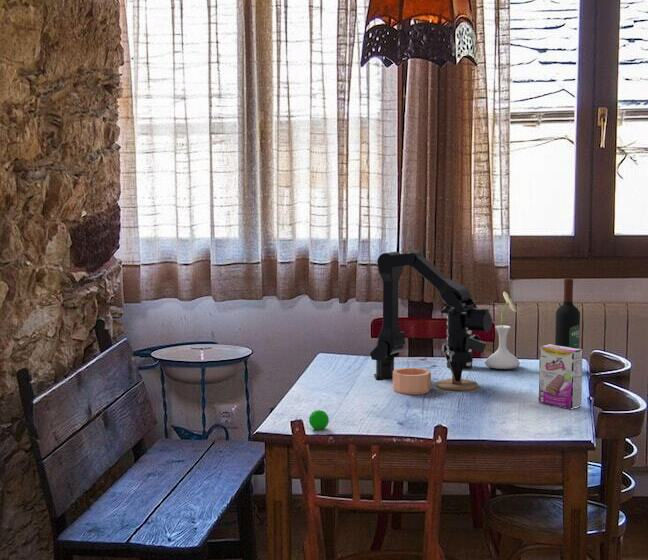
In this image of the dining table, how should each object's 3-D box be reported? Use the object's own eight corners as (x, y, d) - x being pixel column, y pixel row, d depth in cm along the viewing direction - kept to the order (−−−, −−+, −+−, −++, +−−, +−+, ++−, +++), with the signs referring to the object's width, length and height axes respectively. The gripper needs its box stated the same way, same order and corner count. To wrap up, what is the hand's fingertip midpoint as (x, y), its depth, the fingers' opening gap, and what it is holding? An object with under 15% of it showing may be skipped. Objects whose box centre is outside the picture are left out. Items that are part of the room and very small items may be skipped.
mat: (430, 383, 313) (430, 381, 313) (475, 382, 314) (475, 381, 314) (437, 393, 300) (437, 392, 300) (484, 392, 300) (484, 391, 300)
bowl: (391, 387, 309) (391, 368, 308) (427, 387, 309) (427, 367, 308) (395, 396, 298) (395, 376, 297) (432, 395, 298) (432, 375, 297)
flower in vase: (517, 372, 327) (518, 295, 324) (481, 370, 331) (482, 294, 328) (523, 364, 340) (524, 290, 337) (488, 362, 343) (489, 289, 340)
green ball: (312, 425, 266) (312, 407, 265) (331, 427, 264) (330, 409, 264) (307, 430, 261) (306, 412, 260) (325, 432, 259) (325, 414, 259)
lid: (433, 382, 312) (434, 363, 312) (472, 381, 313) (472, 362, 312) (440, 391, 301) (440, 371, 300) (480, 390, 301) (480, 370, 300)
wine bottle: (560, 368, 333) (562, 277, 330) (582, 371, 329) (584, 278, 325) (550, 372, 327) (552, 279, 324) (573, 375, 323) (575, 281, 319)
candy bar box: (537, 403, 287) (538, 346, 285) (547, 400, 291) (548, 343, 289) (572, 410, 279) (573, 351, 277) (582, 407, 283) (583, 348, 281)
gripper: (490, 333, 296) (489, 386, 298) (478, 323, 314) (477, 373, 316) (452, 334, 295) (451, 387, 297) (442, 323, 314) (441, 373, 316)
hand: (456, 380), depth 307 cm, fingers closed on lid, 3 cm apart
